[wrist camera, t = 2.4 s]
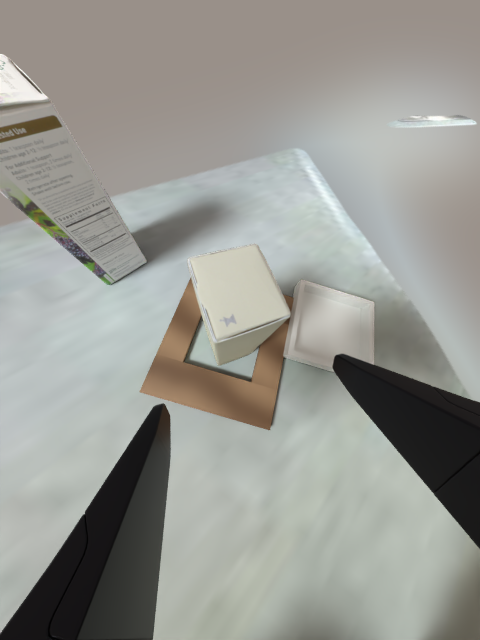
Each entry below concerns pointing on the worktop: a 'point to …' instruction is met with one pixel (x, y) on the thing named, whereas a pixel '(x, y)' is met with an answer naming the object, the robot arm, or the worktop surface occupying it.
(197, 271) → the box
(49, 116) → the syrup box
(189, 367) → the walnut frame
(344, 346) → the white tray
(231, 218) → the worktop surface
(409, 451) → the robot arm
